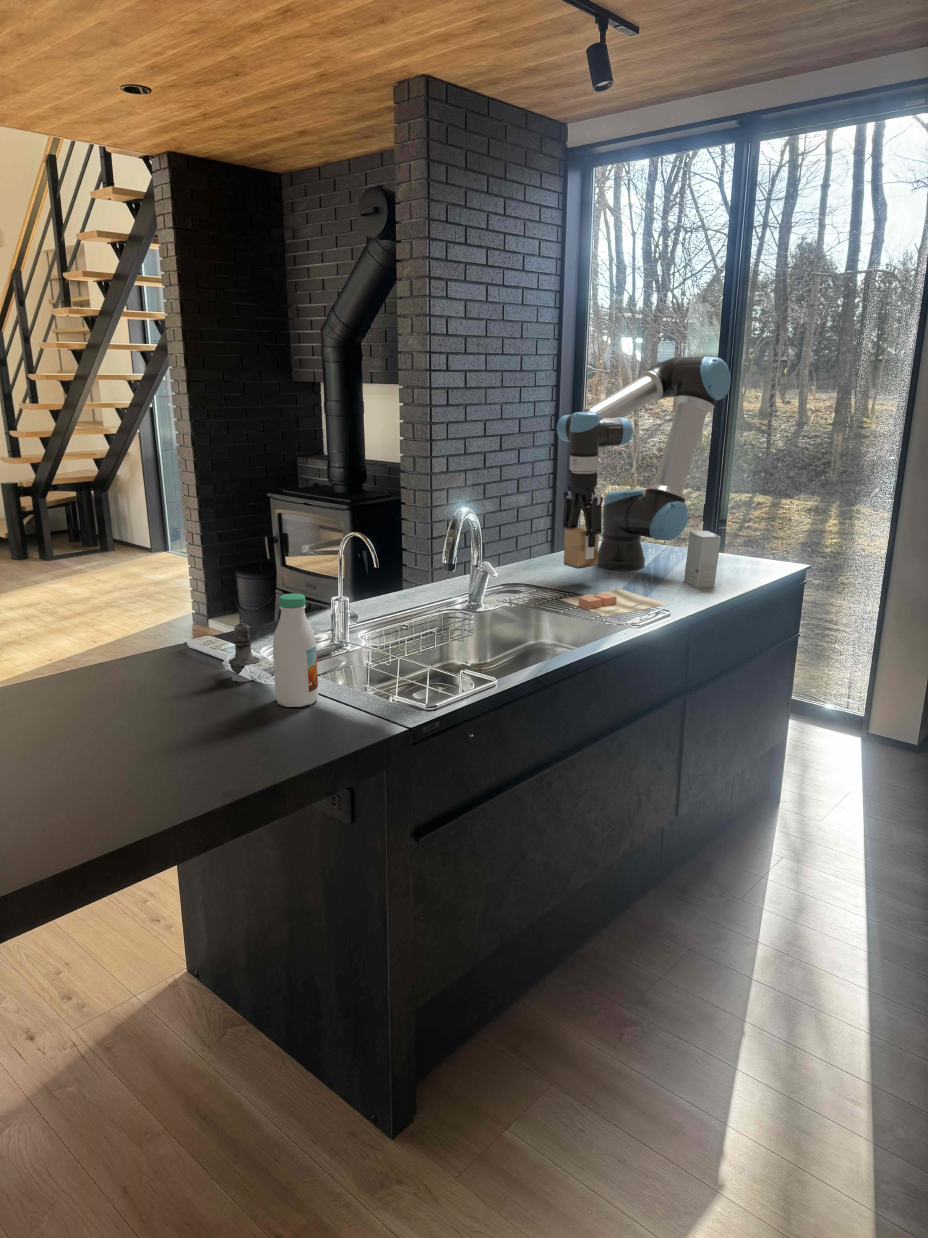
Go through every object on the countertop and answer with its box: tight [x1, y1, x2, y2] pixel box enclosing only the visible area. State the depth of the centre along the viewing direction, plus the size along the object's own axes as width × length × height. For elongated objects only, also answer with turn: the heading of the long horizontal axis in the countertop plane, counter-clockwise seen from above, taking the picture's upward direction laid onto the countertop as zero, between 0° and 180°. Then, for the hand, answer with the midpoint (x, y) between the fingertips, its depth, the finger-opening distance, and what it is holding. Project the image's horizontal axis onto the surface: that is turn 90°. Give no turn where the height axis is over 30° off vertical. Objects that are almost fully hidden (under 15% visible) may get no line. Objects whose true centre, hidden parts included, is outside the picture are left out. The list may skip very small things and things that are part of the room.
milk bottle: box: [272, 592, 319, 705], centre depth 156 cm, size 8×8×20 cm
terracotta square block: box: [594, 593, 617, 606], centre depth 221 cm, size 4×4×2 cm
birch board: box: [559, 588, 670, 617], centre depth 223 cm, size 21×18×1 cm
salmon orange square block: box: [578, 596, 602, 610], centre depth 218 cm, size 4×4×2 cm
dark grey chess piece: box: [228, 619, 260, 674], centre depth 169 cm, size 6×6×12 cm
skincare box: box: [683, 530, 722, 589], centre depth 244 cm, size 8×6×15 cm
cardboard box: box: [563, 525, 600, 570], centre depth 237 cm, size 7×6×10 cm
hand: (580, 556), depth 238 cm, fingers closed on cardboard box, 6 cm apart
